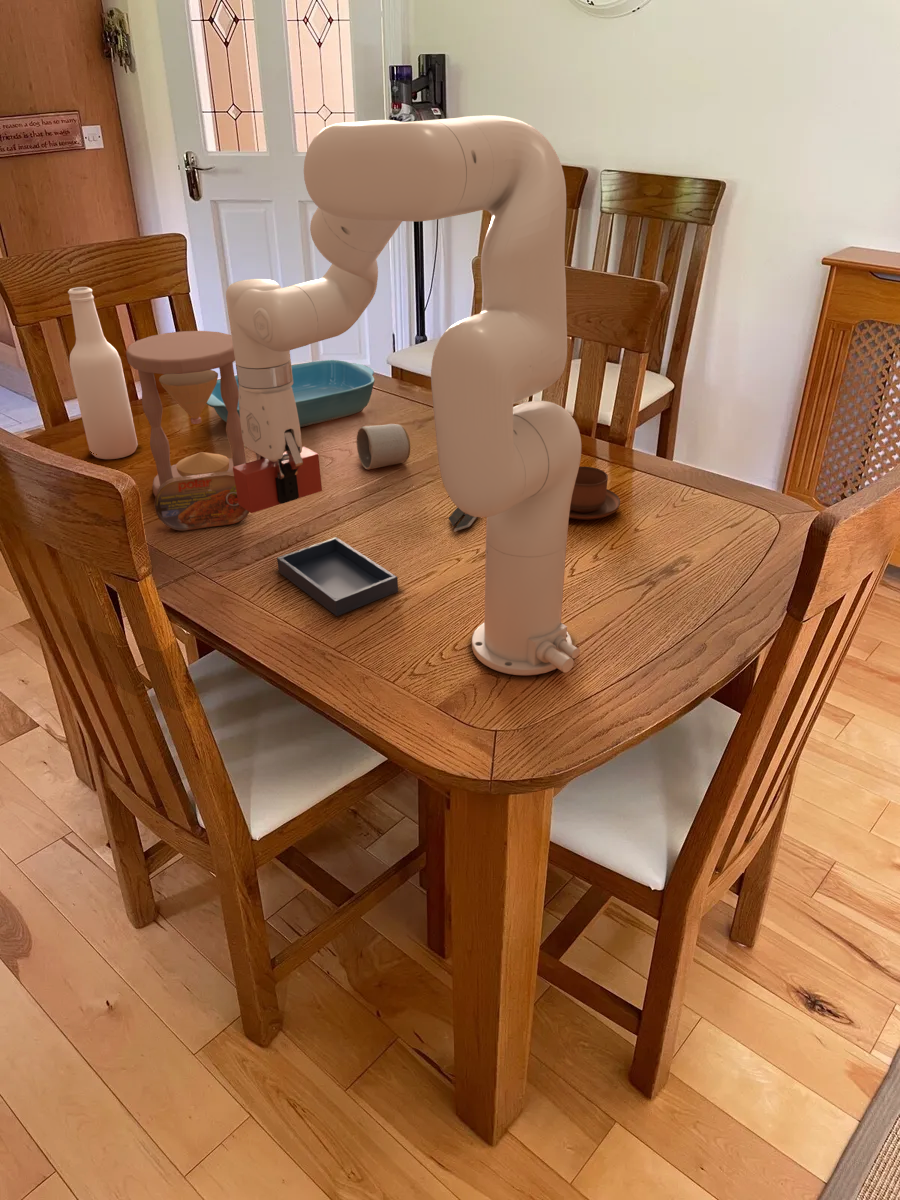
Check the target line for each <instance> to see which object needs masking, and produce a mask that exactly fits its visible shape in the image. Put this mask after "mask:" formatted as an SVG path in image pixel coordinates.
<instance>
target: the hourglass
mask: <svg viewBox="0 0 900 1200" xmlns="http://www.w3.org/2000/svg"><path fill="white" fill-rule="evenodd" d="M125 354H126V359H127V363H128V365H130V366H131V367H132V368H133V369H134V370H136V371H137V373H138V378H139V383H140V389H141V404H142V409H143V413H144V415H145V417H146V419H147V421H148V423H149V425H150V427H151V428H150V439H149V444H150V445H149V447H150V451H151V454H152V456H153V459H154V461H155V466H156V472H157V475H156V476H154V478H153V481H152V491H153V495H154V497H156V494H157V492H158V490H159V488H160V487H161V485H162V484H163V483H165V482H166V481H167V480H169V479H172V478H175V477H183V476H191V475H199V474H207V473H215V472H224V471H227V472H232V473H234V472H233V467H234V466H238V465H241V464H245V463H247V459H246V450H245V445H244V443H243V439H242V431H241V422H240V417H239V415H238V412H237V407H238V400H239V391H238V386H237V382H236V379H235V376H236V375H235V369H234V362H235V356H234V349H233V343H232V336H231V334H228V333H224V332H220V331H210V330H183V331H174V332H173V331H172V332H164V333H159V334H155V335H149V336H146V337H144V338H140V339H138V340H135V341H134V342H132V343H131V344H129V345H128V346H127V349H126V352H125ZM215 369H219V373H218V372H217V371H215ZM155 374H160V375H161V376H159V379H158V382H159V383H160V385H161V387H162V388H163V389H164V390H165V392H166V393H167V394H168V395H169V396H170V397H171V398H172V399H173V400H174V401H175V402H176V403H177V404H178V406H180V407H181V408H182V409H183V410H184V411H185V412H186V414H187V415H189V417H190V423H191V425H199V424H201V423H202V417H201V415H202V412H203V410H204V408H205V407H206V405H207V404H206V403H207V401H208V399H209V398H210V396H211V394H212V392H213V390H214V388H215V386H216V384H217V380H219V379H218V378H219V375H220V379H221V380H220V390H221V397H222V399H223V402H224V404H225V406H226V409H227V411H228V416H227V423H225V432H226V436H227V440H228V443H229V446H230V453H231V458H228V457H227V456H226V455H223V454H219V453H212V452H204V451H199V452H197V453H194V454H191V455H188V456H186V457H184V458H181V459H180V460H179V461H178V462H177V463H175V464H173V465H171V449H170V442H169V440H168V437H167V435H166V433H165V431H164V429H163V427H162V417H163V405H162V399H161V397H160V394H159V391H158V388H157V383H156V378H155Z"/></svg>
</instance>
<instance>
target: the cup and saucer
mask: <svg viewBox="0 0 900 1200" xmlns="http://www.w3.org/2000/svg"><path fill="white" fill-rule="evenodd" d="M608 478H609V476H608V474H607V472H606V471H604V470H602V469H600V468H597V467H593V466H579V469H578V474H577V478H576V482H575V485H574V489H573V494H572V499H571V505H570V512H569V519H572V520H573V519H574V520H581V521H582V520H583V521H589V520H590V521H591V520H599V519H602V518H603V519H604V518H606V517H608V516H610V515H612V514H613V513H615V512H617V510H618V509H619V507H620V505H621V499H620V497H619V496H618V494H616V493H615V492H613V491H611V489H608V480H609V479H608Z"/></svg>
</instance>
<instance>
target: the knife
mask: <svg viewBox="0 0 900 1200" xmlns="http://www.w3.org/2000/svg"><path fill="white" fill-rule="evenodd" d="M477 518H478V517H474V516H471V515H469V514H466V513H465V512H463V511H462V510H460V509H459V508H458V507H457V506H456V508H455V509H454V511H453V512H452V513H451V514H450V516H448V520H449V522H450V524H451V525H452V527H454V529H453V533H454V532H458V531H460V530H463V529H467V528H469V527H471V526H472V524H473V523H474V522H475V520H476V519H477Z"/></svg>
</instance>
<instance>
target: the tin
mask: <svg viewBox="0 0 900 1200" xmlns="http://www.w3.org/2000/svg"><path fill="white" fill-rule="evenodd" d="M153 506H154V512H155V514H156V516H157V518H158V520H159V521H160V522H161V523H162V524H163V525H165V526H166V527H168V528H169V529H170V528H171V529H172V530H175V531H182V532H184V531H193V530H199V529H205V528H206V529H207V528H213V527H221V526H229V525H230V526H231V525H234V524H237V523H239V522H242V521H243V520H244V519H246V517H248V516H249V513H250V512H249V511H247V510H246V509H244V508H243V507H241V506H240V505H239V504H238V498H237V491H236V485H235V479H234V473H232V472H227V471H224V472H215V473H207V474H199V475H191V476H183V477H175V478H172V479H169V480H167V481H166V482H165V483H163V484H162V485H161V487H160V488H159V490H158V492H157V494H156V496H155V498H154V505H153Z"/></svg>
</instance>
